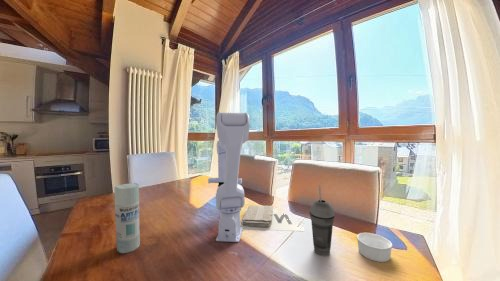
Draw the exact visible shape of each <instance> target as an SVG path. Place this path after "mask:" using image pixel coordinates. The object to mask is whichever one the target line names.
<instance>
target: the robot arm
mask: <svg viewBox="0 0 500 281" xmlns="http://www.w3.org/2000/svg"><path fill="white" fill-rule="evenodd" d="M215 120H216V123H215V124H216V132H217V138H218V140H217V141H216V154H217V163H218V164H217V166H218V167H217V168H218V169H217V171H218V172H217V173H218V176H217V177H208V179H207V183H208V184H218V185H217V189H216V193H215V206H216V207H215V208H216V209H217V211H219V214H220V215H219V216H220V218H219V221H218V226H217V227H218V234H217V236H216V238H215V241H216V242H225V243H226V242H232V243H239V242H240V240H241V237H242V232H243V230H244V229H243V228H242V227H241V211H242V208H244V206H245V204H246V202H245V200H246V199H245V198H246V197H245V190H244V187H243V186H242V185H241V184H243V178H241V177H240V178H239V171H240V164H241V153H242V152H241V151H242V149H243V144H245V143H247V142H248V139H249V136H250V125H251V124H250V115H249V114H248V112H220V111H219V112H217V114H216V119H215Z"/></svg>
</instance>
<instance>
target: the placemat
mask: <svg viewBox="0 0 500 281" xmlns="http://www.w3.org/2000/svg"><path fill="white" fill-rule="evenodd" d="M247 209H248V207H246V209H245V212H244V214H245V213H246V211H247ZM277 209H278V208H276V207H275V208H274V207H273V216H272V224H271V226H270V227H255V226H243V225H242V223H243V222H242V221H241V224H240V227H242V228H243V230H259V231H261V230H264V231H265V230H266V231H286V232H287V231H289V232H305V228H304V226H303V227H302V228H301V226H299V227H297V226H298V225H297V224H296V225H297V226H296V225H295V223H294V222H295V221H294V222H293V223H292V221H291V220H289V219H290V217H291V216H290V215H289V216H290V217H289V216H288V214H285V215H284V213H283V215H282V214H281V215H278V210H277ZM284 209H285V210H286V209H287V208H284ZM279 212H280V211H279ZM279 214H280V213H279ZM287 219H288V220H287ZM291 219H292V218H291ZM300 228H301V229H300Z"/></svg>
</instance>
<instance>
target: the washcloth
mask: <svg viewBox="0 0 500 281" xmlns="http://www.w3.org/2000/svg"><path fill="white" fill-rule="evenodd" d="M247 208H248V209H247V211H246V210H245V212H246V213H245V212H244V215H243V217H242V219H241V225H243V226H255V227H270V226H271V224H272V216H273V208H274V206H273V205H254V204H253V205H248V207H247ZM242 222H243V223H242Z"/></svg>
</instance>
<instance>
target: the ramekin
mask: <svg viewBox="0 0 500 281" xmlns="http://www.w3.org/2000/svg"><path fill="white" fill-rule="evenodd" d="M356 240H357V247H358V252H359V253H360V254H361V255H362V256H363V257H364V258H366V259H368V260H371V261H373V262H379V263H380V262H381V263H384V262H385V263H386V262H389V261H390V259H391V258H392V257H391V256H392V249H393V243H392V241H391V240H389V239H388V238H386V237H384V236H382V235H379V234H376V233H372V232H360V233H358V234H357V235H356Z"/></svg>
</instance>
